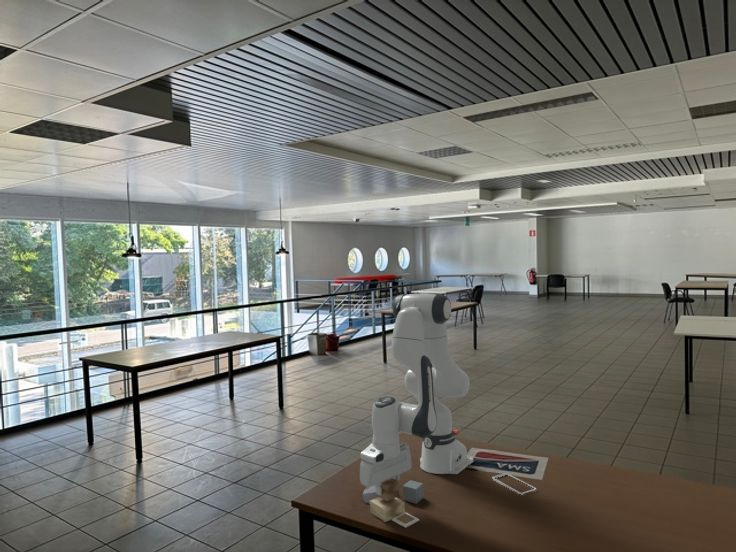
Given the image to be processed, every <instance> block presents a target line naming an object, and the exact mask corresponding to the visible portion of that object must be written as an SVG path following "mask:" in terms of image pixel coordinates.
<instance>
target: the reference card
mask: <svg viewBox="0 0 736 552" xmlns="http://www.w3.org/2000/svg"><path fill="white" fill-rule="evenodd" d="M391 521H393V522H394V523H396V524H398V525H400V526H401V527H404V528H408V527H410V526H411V525H413V524H415V523H417V522H419V521H420V519H419V518H417V517H416V516H413V515H411V514H410V513H408V512H406V511H405V513H403V514H401V515H399V516H397V517H395V518H393V519H392V520H391Z"/></svg>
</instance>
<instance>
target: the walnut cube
mask: <svg viewBox="0 0 736 552" xmlns="http://www.w3.org/2000/svg"><path fill="white" fill-rule="evenodd" d="M393 478H394V477H392V478H390V479H387V480H385V481H383V482H381V485H380V487H381V488H382V489H384V491H383V492H384V494H382V495H378V494H377V496H378V497H380V498H382V499H384V500H386V501H389V500H392V499H394V498H398V497H399V492H400V491H399V481H398V480H395V479H393Z"/></svg>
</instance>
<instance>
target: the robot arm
mask: <svg viewBox="0 0 736 552" xmlns="http://www.w3.org/2000/svg"><path fill="white" fill-rule="evenodd" d="M392 314H393V316H394V318H395V322H394V327H393V332H392V336H391V348H390V349H391V354H392V356H393V358H394V359H395V360H396V362H397V363H398V364H399V365H401V366H402V367H404V368H406V369H407V372H406V373H405V375H404V385H405V388H406V390H407V391H408V392H409V393H410V394H411V395H412V396H413V397H414V398H415V399H416V401H417V402H418V404H412V403H407V402H403V401H398V400H396V398H395V397H393V396H381V397H379V398H377V399H376V400H375V401H374V402H373V404H372V405H373V406H372V412H371V429H372V432H373V433H372V434H373V435H372V442H371V443H370V444H369V445H368V446H367V447H366V448H364V449H363V450H362V451H361V452H360V454H359V455H360V457H359V458H360V459H361V462H360V464H359V480H360V481H359V482H360V484H361V485H363V486H364V487H365V488H366V487H371V486H373V485H374V486H375V487H376V489H377V494H378V495H382V494H384V492H383V491H384V489H382V488H381V487H380V485H381V482H383V481H385V480H387V479H390V478H393V479H395V480H398V482H399V481H400V479H401V474H403V473H406V472H408V471H410V470H411V468H412V467H413V464H412V455H411V451H410V444H409V443H408V442H406V441H403V442H400V440H401V439H400V436H399V433H401V434H402V433H404V434H408V435H413V436H415V437H418V438H421V439H422V442H421V444H422V445H421V457H420V458H419V462H420V465H419V466H420V469H421V470H422V471H424V472H427V473H429V474H437V475H445V474H446V475H448V474H449V475H458V474H460V473H461V472H462V471H464V470H465V469H466V468H468V465H469V466H470V465H471V464H472V463H474V458H473V457H471V455H470V456H469V455H468V450H467V447H466V445H465V444H463V443H462V442H461V441H459V440H458V439H456V436H459V435H460V431H459V430H458V429H453V425H452V424H453V421H452V417H453V416H452V411H451V410H450V408H449V407H448V406H447V405H445V404H443V403H442V402H441V401H440V400H439V398H440V397H441V398H454V399H455V398H462V397H463V398H464V396H466V395H467V393H468V392H469V390H470V386H471V383H470V377H469V375H468V374H467V373H466V372H465V371H464V370H462V369H461V368H460V367H459V366H458V365H457V364H456V362H455V361H454V359H453V358H452V355H451V353H450V347H449V346H450V345H449V338H448V337H449V336H448V328H447V327H448V326H447V321H448V320H449V319H450V317H451V314H452V304H451V300H450V299H449V298H448V296H446V295H444V294H439V293H437V294H435V293H427V292H421V293H410V294H408V293H403V294H402V293H401V294H399V295H397V296H396V297H395V298H394V299H393V302H392ZM432 366H433V367H432ZM438 397H439V398H438Z"/></svg>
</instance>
